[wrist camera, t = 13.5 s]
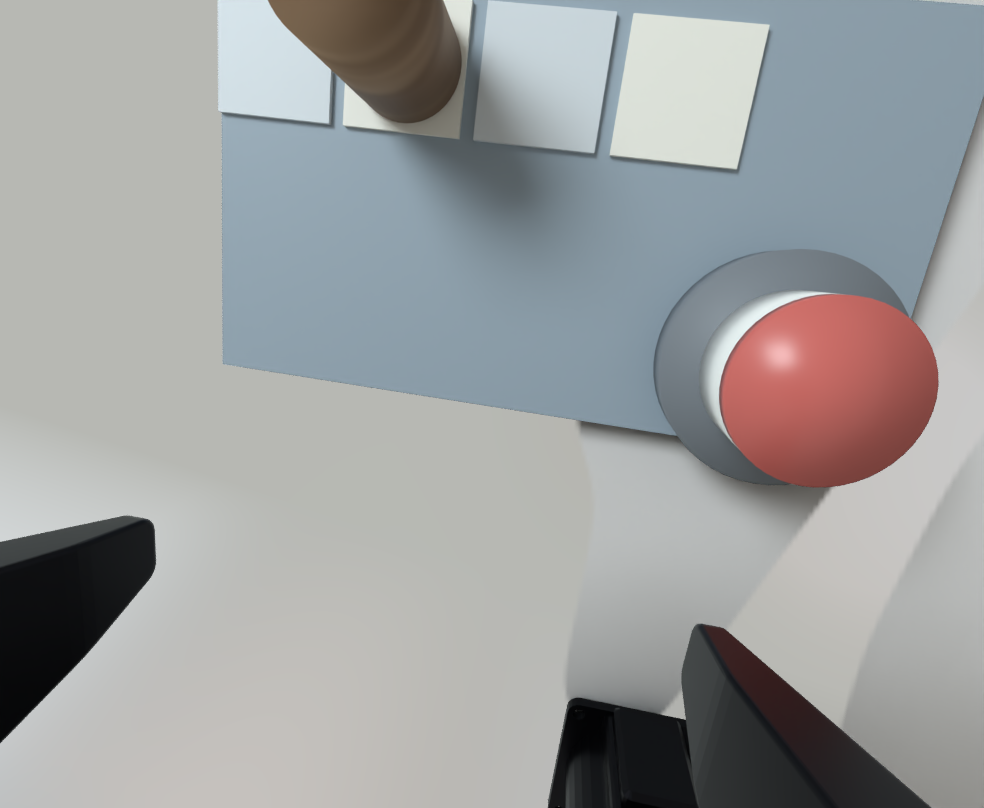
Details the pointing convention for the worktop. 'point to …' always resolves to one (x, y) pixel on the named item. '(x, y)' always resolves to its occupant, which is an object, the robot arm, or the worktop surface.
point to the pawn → (382, 50)
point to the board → (586, 195)
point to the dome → (819, 385)
